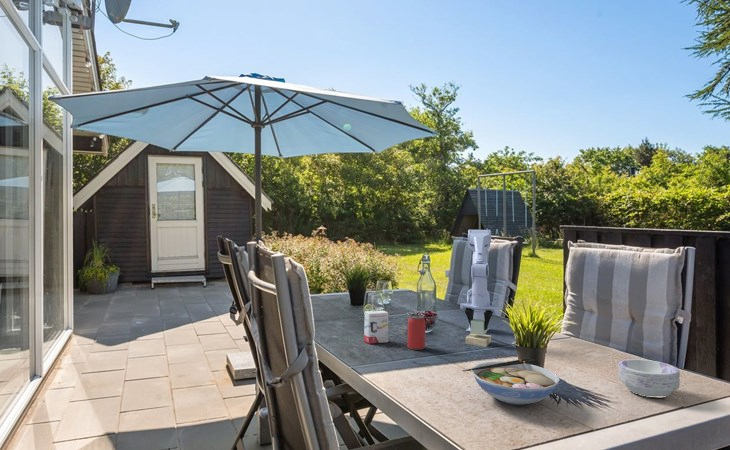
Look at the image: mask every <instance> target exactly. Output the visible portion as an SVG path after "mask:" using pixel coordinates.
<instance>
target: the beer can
mask: <svg viewBox="0 0 730 450" xmlns="http://www.w3.org/2000/svg"><path fill="white" fill-rule="evenodd" d="M406 344H407V349H410V350H413V351H422V350H424V349H425V348H426V319H425V316H424V315H421V314H411V315H409V317H408V320H407V343H406Z"/></svg>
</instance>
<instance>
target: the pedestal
mask: <svg viewBox="0 0 730 450" xmlns="http://www.w3.org/2000/svg"><path fill="white" fill-rule="evenodd" d="M491 343H492V335H489V334H484V335H477V334H470V333H469V334H468V335H467V336H465V343H464V344H465V345H469V344H470V345H471V346H479V347H484V348H487V347H488V345H490V344H491Z"/></svg>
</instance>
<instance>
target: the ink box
mask: <svg viewBox="0 0 730 450" xmlns="http://www.w3.org/2000/svg"><path fill="white" fill-rule="evenodd" d="M363 322H364V324H363V325H364V327H363V328H364V329H363V330H364V331H363V333H364V335H363V337H364V338H363V341H364V342H365V343H367V344H369V345H371V344H381V343H389V312H387V311H385V310H366V311H364V321H363Z"/></svg>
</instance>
